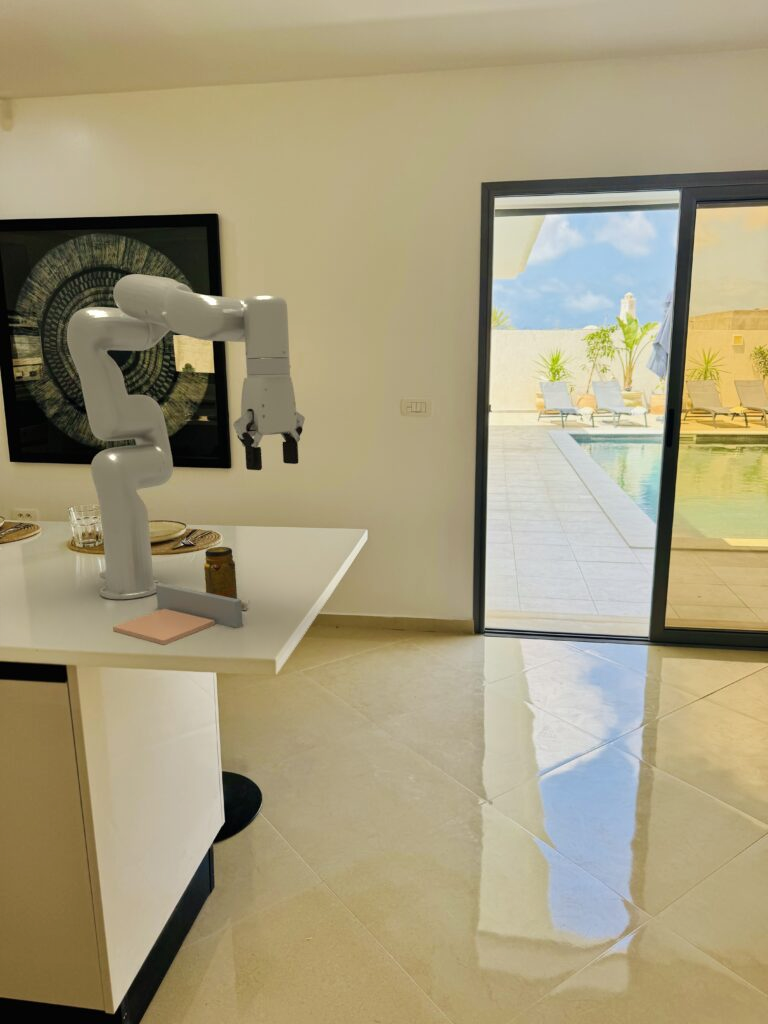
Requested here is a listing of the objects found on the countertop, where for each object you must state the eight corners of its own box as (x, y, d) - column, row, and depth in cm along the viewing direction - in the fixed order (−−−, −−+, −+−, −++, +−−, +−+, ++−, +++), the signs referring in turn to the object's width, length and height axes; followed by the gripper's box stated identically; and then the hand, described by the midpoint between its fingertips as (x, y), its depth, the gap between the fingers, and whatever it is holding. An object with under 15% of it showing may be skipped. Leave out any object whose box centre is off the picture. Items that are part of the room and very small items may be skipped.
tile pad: (113, 630, 133) (112, 626, 133) (164, 612, 143) (164, 608, 143) (163, 644, 126) (163, 640, 126) (214, 624, 136) (214, 620, 135)
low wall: (157, 609, 145) (155, 585, 144) (163, 607, 147) (161, 583, 146) (236, 627, 134) (235, 602, 133) (242, 625, 135) (241, 599, 134)
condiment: (208, 602, 149) (204, 546, 147) (249, 600, 150) (246, 544, 148) (202, 613, 142) (198, 554, 140) (246, 611, 143) (242, 552, 141)
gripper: (284, 369, 135) (288, 460, 138) (216, 370, 121) (222, 471, 124) (316, 368, 131) (319, 462, 134) (249, 369, 117) (254, 473, 120)
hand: (273, 466), depth 129 cm, fingers open, 9 cm apart
